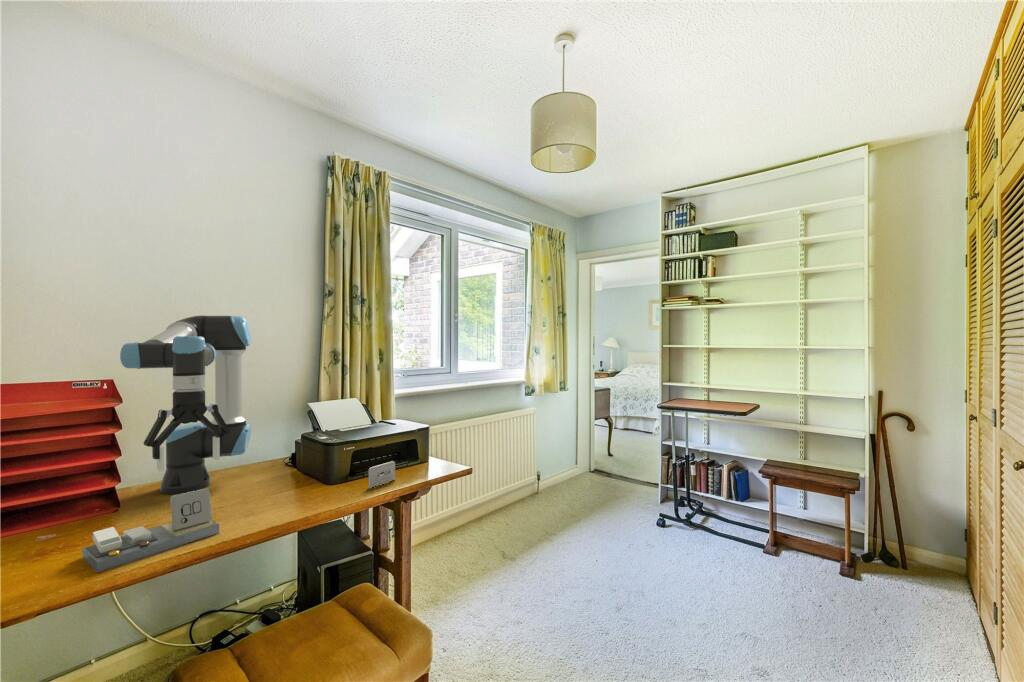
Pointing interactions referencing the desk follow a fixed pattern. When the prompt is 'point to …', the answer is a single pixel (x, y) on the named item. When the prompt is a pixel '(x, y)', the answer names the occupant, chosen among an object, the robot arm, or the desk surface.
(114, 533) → the block
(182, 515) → the electrical switch
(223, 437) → the robot arm
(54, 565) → the desk surface
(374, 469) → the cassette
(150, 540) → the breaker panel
